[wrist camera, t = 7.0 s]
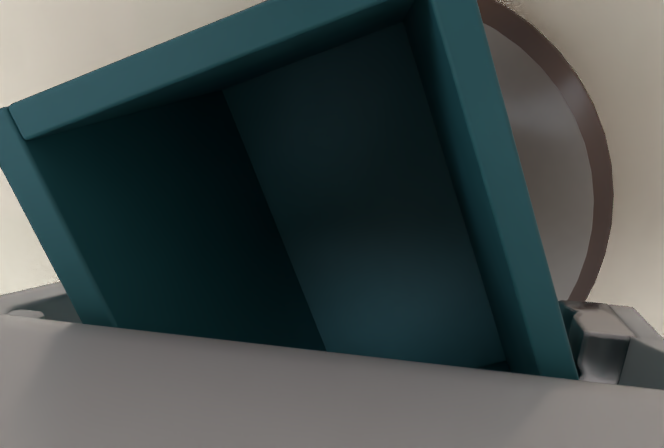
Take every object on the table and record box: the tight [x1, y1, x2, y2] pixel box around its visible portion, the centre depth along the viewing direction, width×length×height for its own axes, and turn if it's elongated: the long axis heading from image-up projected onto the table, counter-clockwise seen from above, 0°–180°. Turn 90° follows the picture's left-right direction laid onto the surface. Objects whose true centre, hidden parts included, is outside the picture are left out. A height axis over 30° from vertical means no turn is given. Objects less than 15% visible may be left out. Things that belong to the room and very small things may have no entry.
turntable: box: [477, 0, 614, 302], centre depth 19 cm, size 15×15×2 cm
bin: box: [0, 0, 579, 380], centre depth 13 cm, size 7×12×10 cm, turn 20°
